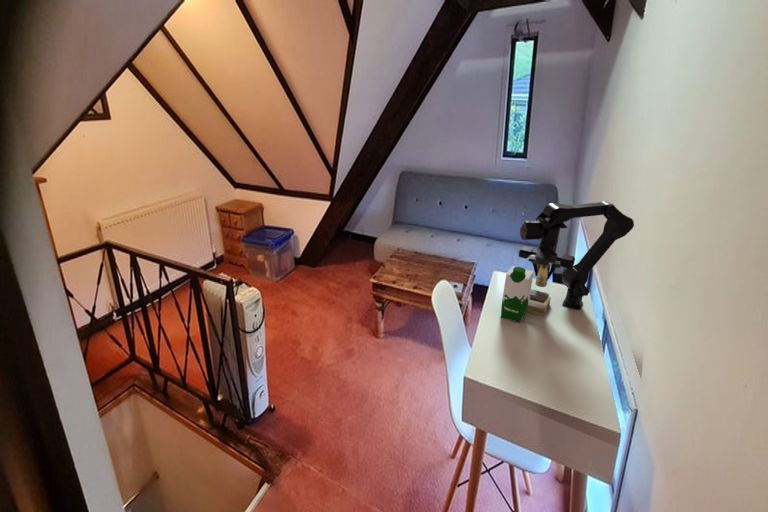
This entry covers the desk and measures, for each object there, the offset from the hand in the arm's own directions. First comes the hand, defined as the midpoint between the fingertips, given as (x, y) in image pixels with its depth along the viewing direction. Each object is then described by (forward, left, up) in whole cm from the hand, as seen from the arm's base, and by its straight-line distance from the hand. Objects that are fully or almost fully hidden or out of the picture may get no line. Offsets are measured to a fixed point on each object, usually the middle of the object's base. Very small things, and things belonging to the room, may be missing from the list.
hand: (542, 277), depth 148 cm
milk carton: (+13, -6, -12) cm, 18 cm away
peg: (0, 0, -3) cm, 3 cm away
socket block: (+2, 0, -12) cm, 12 cm away
